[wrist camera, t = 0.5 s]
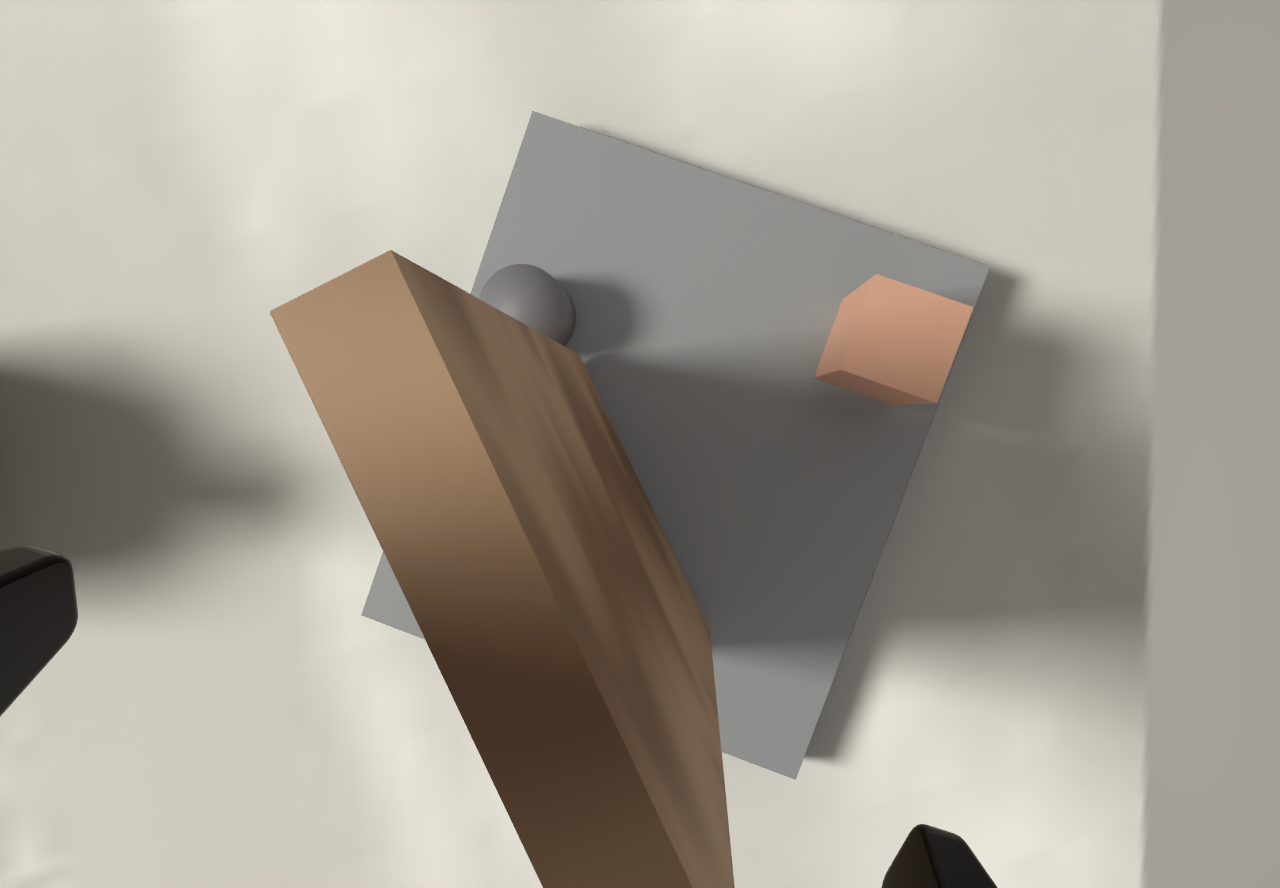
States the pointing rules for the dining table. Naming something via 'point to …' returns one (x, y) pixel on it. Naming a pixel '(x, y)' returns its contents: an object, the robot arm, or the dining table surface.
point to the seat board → (735, 393)
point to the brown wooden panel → (527, 572)
